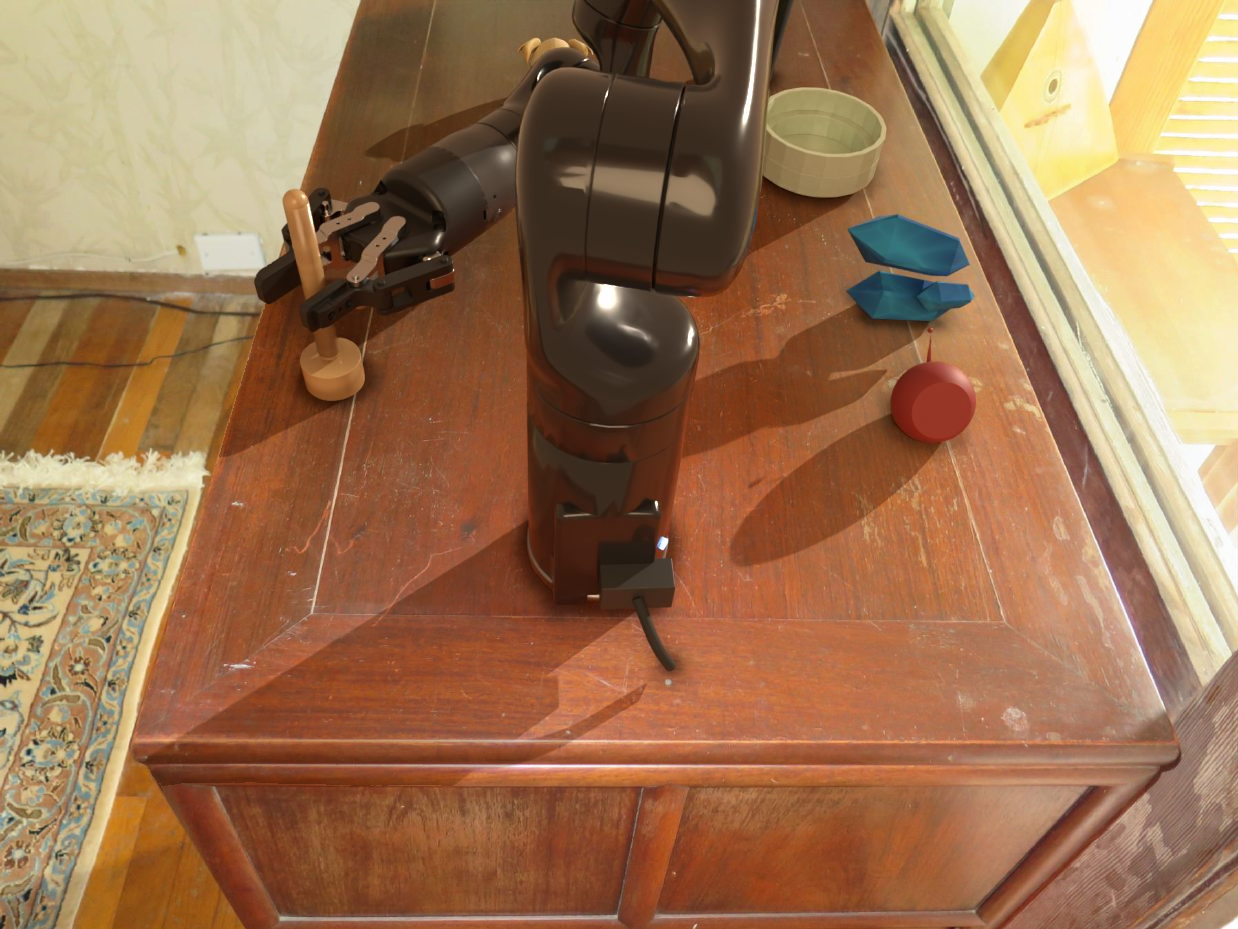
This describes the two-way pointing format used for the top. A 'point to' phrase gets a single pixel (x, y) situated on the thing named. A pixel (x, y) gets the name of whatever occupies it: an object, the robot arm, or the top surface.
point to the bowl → (821, 142)
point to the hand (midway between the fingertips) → (283, 305)
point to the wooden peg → (330, 358)
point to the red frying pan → (933, 401)
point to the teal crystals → (908, 269)
